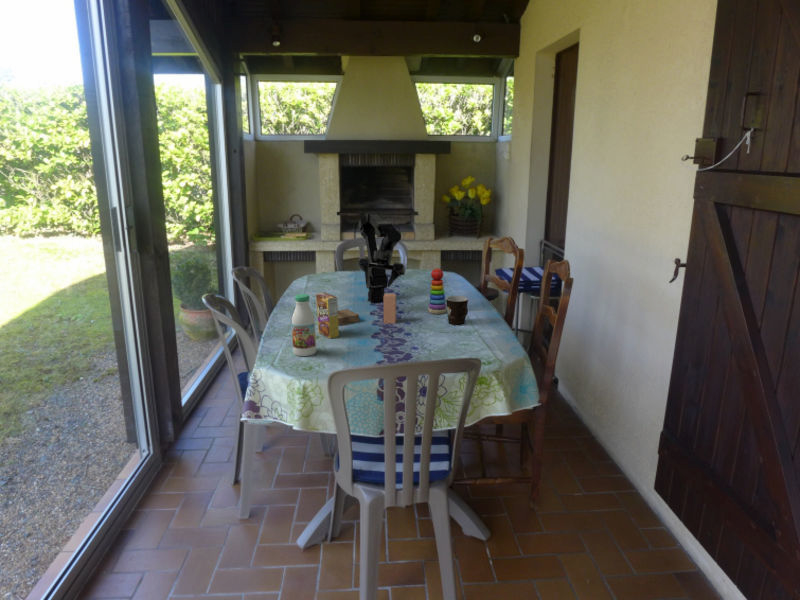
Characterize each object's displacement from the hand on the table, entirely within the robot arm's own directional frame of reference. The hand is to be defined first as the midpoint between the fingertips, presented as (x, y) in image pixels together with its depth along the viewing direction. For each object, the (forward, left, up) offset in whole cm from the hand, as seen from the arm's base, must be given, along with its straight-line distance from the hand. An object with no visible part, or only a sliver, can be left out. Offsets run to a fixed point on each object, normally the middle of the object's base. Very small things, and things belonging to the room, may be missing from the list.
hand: (377, 285), depth 224 cm
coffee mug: (-21, +25, -14) cm, 36 cm away
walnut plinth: (+15, -4, -13) cm, 20 cm away
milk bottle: (+42, +22, -14) cm, 50 cm away
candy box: (+27, +9, -14) cm, 32 cm away
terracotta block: (-1, +8, -13) cm, 16 cm away
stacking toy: (-25, +7, -14) cm, 29 cm away
